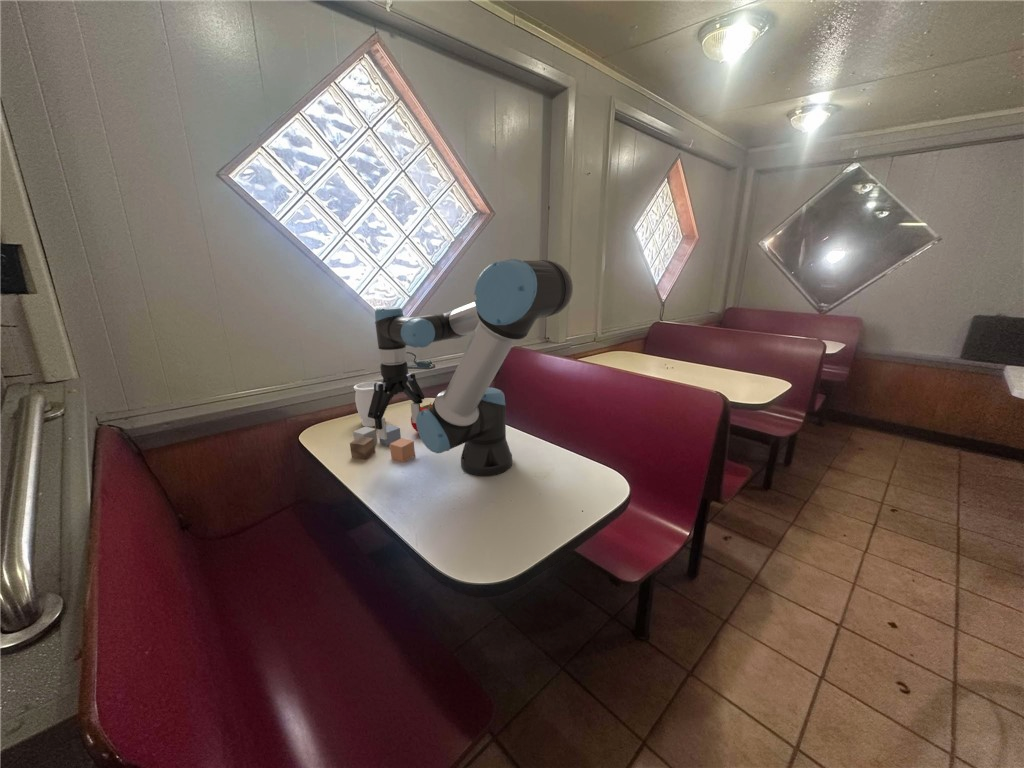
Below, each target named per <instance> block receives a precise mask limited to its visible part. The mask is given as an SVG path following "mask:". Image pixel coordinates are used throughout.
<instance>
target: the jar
mask: <svg viewBox="0 0 1024 768" xmlns="http://www.w3.org/2000/svg"><path fill="white" fill-rule="evenodd" d="M375 383H382V382H381V381H364V382H359V383H358V384H357V383H356V384H355V385H354V386H353V390H354V391H355V393H354V395H355V397H354V398H355V399H354V400H355V401H354V402H355V406H356V410H357V412H358V415H359V417H360V420H361V423H360V424H361V426H363V427H365V426H366V427H370V428H373V427H375V419H373V418H369V417H368V412H369V408H370V405H371V401H372V397H373V393H374V384H375ZM384 416H385V414H384V415H383V417H384Z"/></svg>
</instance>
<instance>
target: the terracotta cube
mask: <svg viewBox="0 0 1024 768" xmlns="http://www.w3.org/2000/svg"><path fill="white" fill-rule="evenodd" d="M414 442H415V441H414V440H410V439H408V438H404V437H401V439H399V440H397V441H395V442H393V443H391V444H390V446H389V449H390V459H392V460H394V461H398V462H401V463H404V462H407V461H408V460H410V459H412V458H413V457H415V456H416V452H415V443H414Z"/></svg>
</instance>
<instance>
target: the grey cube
mask: <svg viewBox="0 0 1024 768" xmlns="http://www.w3.org/2000/svg"><path fill="white" fill-rule="evenodd" d="M352 433H353V439H354V440H355V439H357V438H359V437H368V438H374V445H375V444H378V436H377V435H378V434H377V429H376V428H373V427H366V426H363V427H360V428H358V429H356V430H353V432H352ZM354 440H353V441H354Z"/></svg>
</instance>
